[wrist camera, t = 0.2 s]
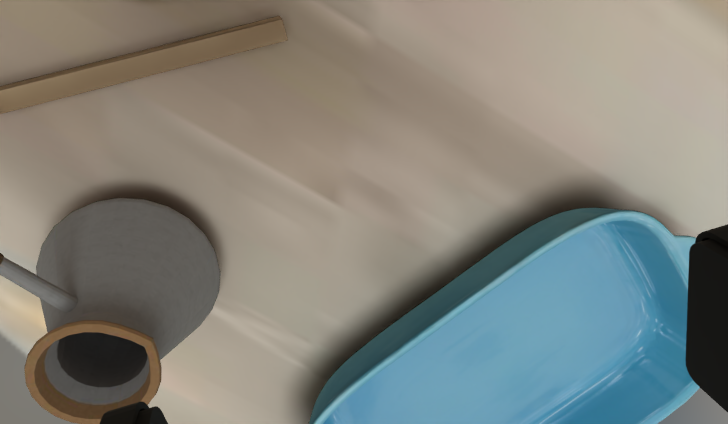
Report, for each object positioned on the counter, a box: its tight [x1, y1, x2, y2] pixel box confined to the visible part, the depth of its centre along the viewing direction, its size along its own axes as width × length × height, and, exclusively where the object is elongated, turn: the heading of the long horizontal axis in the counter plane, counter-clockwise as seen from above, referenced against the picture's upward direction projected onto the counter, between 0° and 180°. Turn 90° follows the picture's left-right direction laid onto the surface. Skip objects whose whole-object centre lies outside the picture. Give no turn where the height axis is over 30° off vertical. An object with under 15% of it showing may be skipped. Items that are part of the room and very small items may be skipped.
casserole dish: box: [309, 208, 700, 424], centre depth 46 cm, size 37×22×7 cm, turn 125°
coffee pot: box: [0, 198, 220, 424], centre depth 31 cm, size 21×12×15 cm, turn 29°
